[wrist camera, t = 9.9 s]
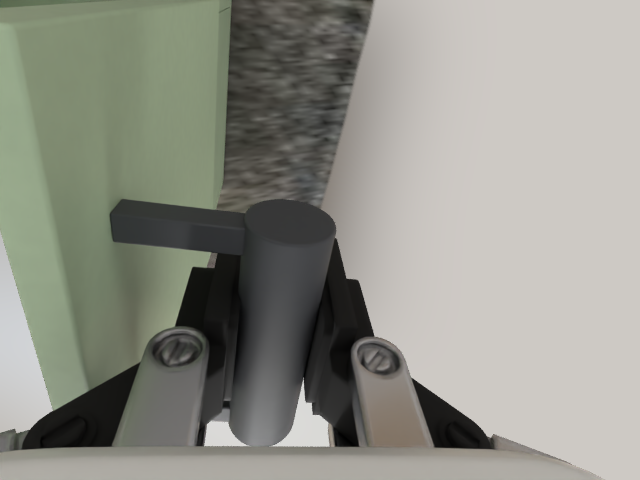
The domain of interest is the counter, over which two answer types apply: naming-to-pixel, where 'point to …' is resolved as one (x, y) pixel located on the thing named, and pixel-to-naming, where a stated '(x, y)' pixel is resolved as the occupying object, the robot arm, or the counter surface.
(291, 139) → the counter surface
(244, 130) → the counter surface
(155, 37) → the lid
